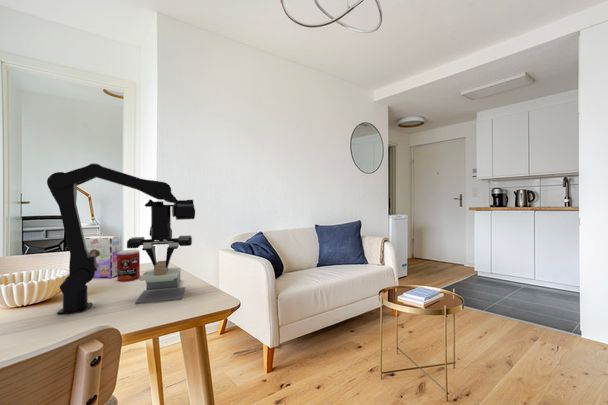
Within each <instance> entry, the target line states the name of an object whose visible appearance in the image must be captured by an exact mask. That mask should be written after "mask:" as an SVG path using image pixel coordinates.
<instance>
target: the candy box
mask: <svg viewBox="0 0 608 405" xmlns="http://www.w3.org/2000/svg"><path fill="white" fill-rule="evenodd" d="M84 240H85V244H86V248H87V250H88V252H89V254H90V255H92V254H94V253H95V254H96V262H97V264H98V268H97V270H96V272H95V275H94V277H93V279H96V278H97V279H98V278H99V279H112V278H115V277H117V252H119V251H122V250H121V236H120V235H119V236H118V235H115V236H114V235H113V236H112V235H110V236H109V235H108V236H107V235H99V236H98V235H93V236H91V235H90V236H84Z"/></svg>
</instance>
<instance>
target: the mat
mask: <svg viewBox="0 0 608 405" xmlns="http://www.w3.org/2000/svg"><path fill="white" fill-rule="evenodd" d="M185 287H186V286H178V288H166V289H154V290H147V289H144V290H143V291H142V292H141V294H140V295H139V296H138V298H137V299H136V301H135V302H134V304H135V305H141V304H151V303H162V302H172V301H182V298H183V296H184V292H185V289H186V288H185Z"/></svg>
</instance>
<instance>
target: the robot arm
mask: <svg viewBox="0 0 608 405" xmlns="http://www.w3.org/2000/svg"><path fill="white" fill-rule="evenodd" d="M94 179H100V180H104V181H108V182H110V183H114V184H116V185H120V186H124V187H127V188H130V189H134V190H137V191H139V192H141V193H143V194H146V195H147V196H148V197H151V198H153V199H156V200H161V201H153V200H152V199H149V200H148V201H147V202H146V203H145V204H144V207H146V208H147V207H148V208H149V207H150V210H151V211H150V213H151V214H150V216H151V218H150V220H151V221H150V222H151V223H150V224H151V225H150V227H149V236H150V237H151V238H148V239H146V238H145V236H138V237H137V236H136V237H131V238H128V240H127V241H126V248H127V249H138V248H140V246H142V250H141V251H145V252H146V254H147V255H148V257H149V259H150V261H151V263H152V265H153V267H154V266H155V264H156V263H157V262H158V261H157V255H156V245H168V246H167V248H166V256H165V257H166V258H165V259H166V260H165V261H166V268H167V267H168V268H169V265H170V261H171V257H172V255H173V253H174V251H175V250H177V249H178V248H179V246H180V247H186V246H187V247H189V246H190V247H191V246H192V243H193V237H192V235H190V234H189V235H179V236H178V237H177V238H176V237H174V238H173V229H172V227H171V224H172V223H171V220H172V219H171V215H172V218H175V220H176V221H179V220H182V221H183V220H194V219H195V218H196V208H195V204H194V199H186V200H185V199H182V200H181V199H179V200H178V199H177V198H176V197H175V195H174V194H173V193H172V187H171V186H170V184H169V183H167V182H165V181H159V180H152V179H146V178H145V179H144V178H140V177H138V176H134V175H130V174H128V173H124V172H122V171H117V170H115V169H112V168H110V167H106V166H102V165H101V164H99V163H93V162H92V163H90V164H88V165H86V166H82V167H79V168H76V169H73V170H70V171H67V172H63V171H57V172H54V173H52V174H50V175H49V177H47V179H46V184H47V187H48V189H49V191H50V193H51V195H52V197H53V199H54V201H55V203H56V204H57V206H58V207H59V208H58V209H59V212H60V217H61V221H62V225H63V229H64V233H65V236H66V237H65V238H66V242H67V247H68V251H69V265H68V266H69V268H68V269H69V270H68V271H69V275H68V276H67V277H65V278H64V279H63V281H62V283H61V284H60V285H59V289H60V291H61V294H62V308H61V309H60V310H58V311H56V312H57V313H56V314H57V315H63V314H73V313H81V312H82V313H84V312H86V310H88V309H89V307H91V306H92V305H93V302H88V296H89V295H88V285H87V284H89V283H90V282H91V281H92V280H93V279H94V278H93V277H94V275H95V272H96V270H97V268H98V264H97V262H96V254H95V253H94V254H92V255H90V254H89V252H88V250H87V248H86V244H85V240H84V237H85V236H84V231H83V227H82V223H81V220H80V219H81V218H80V214H79V210H78V205H77V200H78V198H77V196H78V186H79V185H83V184H85V183H87V182H89V181H91V180H94ZM162 200H163V201H162ZM164 201H165V202H167V203H170V204H165V203H164ZM172 203H173V204H172Z"/></svg>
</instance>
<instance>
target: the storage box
mask: <svg viewBox="0 0 608 405" xmlns="http://www.w3.org/2000/svg"><path fill="white" fill-rule="evenodd" d="M180 282H181V271H180V272H179V274H178V276H177V278H174V279H173V281H161V282H147V283H146V282H145V284H146V287H145V288H146V290H154V289H166V288H178V287H180Z"/></svg>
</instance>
